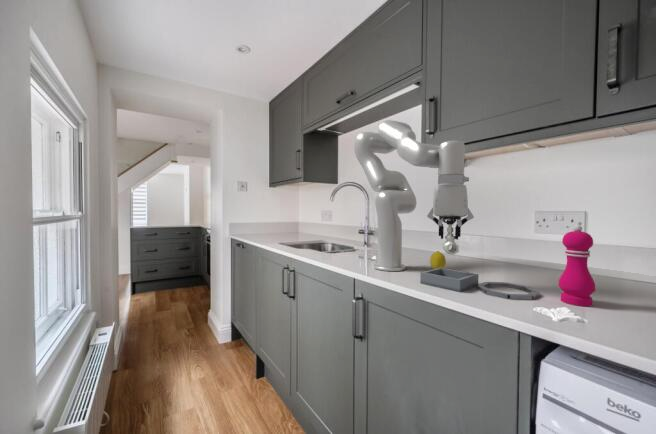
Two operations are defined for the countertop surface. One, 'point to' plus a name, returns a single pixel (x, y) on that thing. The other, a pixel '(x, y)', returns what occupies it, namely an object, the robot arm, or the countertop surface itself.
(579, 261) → the pepper mill
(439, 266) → the lemon
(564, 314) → the acanthus leaf ornament
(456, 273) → the bin
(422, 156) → the robot arm
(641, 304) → the countertop surface
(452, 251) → the valve
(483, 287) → the segmented octagonal ring
